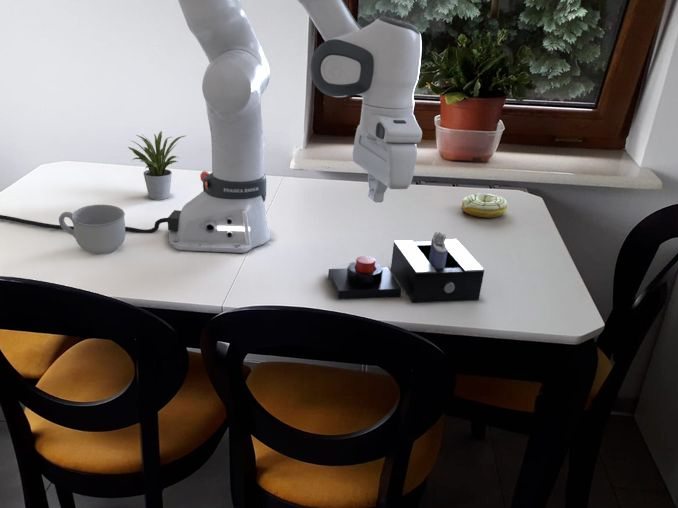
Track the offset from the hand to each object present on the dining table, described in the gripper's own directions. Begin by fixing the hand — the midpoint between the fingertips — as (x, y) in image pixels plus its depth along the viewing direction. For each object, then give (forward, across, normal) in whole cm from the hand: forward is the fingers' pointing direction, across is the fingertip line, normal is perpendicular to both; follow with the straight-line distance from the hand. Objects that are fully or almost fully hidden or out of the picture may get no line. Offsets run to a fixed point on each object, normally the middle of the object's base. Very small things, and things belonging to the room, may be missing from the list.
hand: (375, 200), depth 128 cm
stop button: (+14, 0, 0) cm, 14 cm away
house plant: (+17, -62, -33) cm, 72 cm away
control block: (+17, 0, 0) cm, 17 cm away
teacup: (+19, -29, -50) cm, 61 cm away
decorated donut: (+14, -35, +44) cm, 58 cm away
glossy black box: (+17, +2, +14) cm, 22 cm away
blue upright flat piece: (+17, +2, +14) cm, 22 cm away
